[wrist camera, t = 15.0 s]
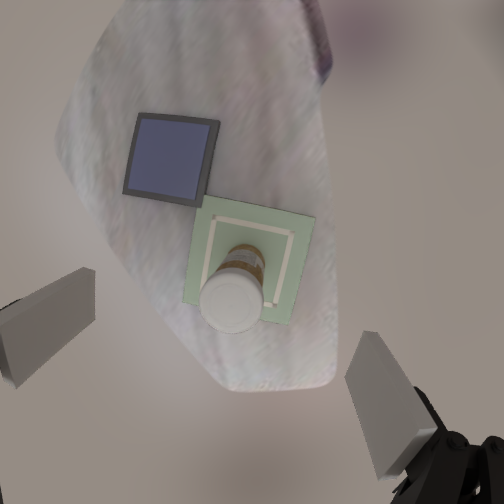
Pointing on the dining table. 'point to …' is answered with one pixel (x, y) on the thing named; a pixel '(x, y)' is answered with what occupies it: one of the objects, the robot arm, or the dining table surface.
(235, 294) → the sprinkles bottle
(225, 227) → the board
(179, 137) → the ink pad
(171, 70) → the dining table surface
